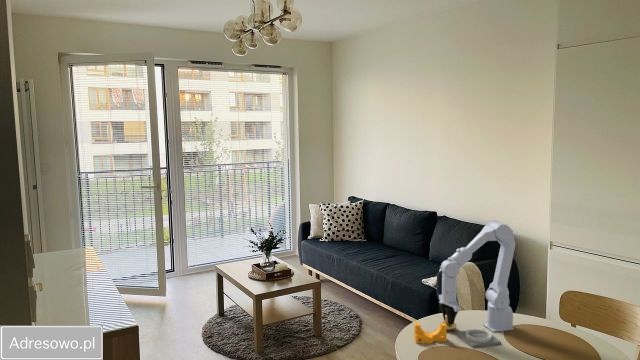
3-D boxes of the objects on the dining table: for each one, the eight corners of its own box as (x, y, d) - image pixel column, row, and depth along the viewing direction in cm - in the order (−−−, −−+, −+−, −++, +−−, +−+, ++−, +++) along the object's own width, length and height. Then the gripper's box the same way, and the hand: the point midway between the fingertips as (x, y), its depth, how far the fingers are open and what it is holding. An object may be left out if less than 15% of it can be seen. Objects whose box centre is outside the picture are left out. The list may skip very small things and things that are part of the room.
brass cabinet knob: (451, 323, 197) (452, 311, 197) (459, 329, 191) (459, 317, 191) (438, 324, 196) (438, 313, 196) (445, 330, 190) (445, 318, 190)
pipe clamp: (415, 343, 182) (416, 327, 181) (414, 338, 186) (414, 322, 186) (447, 343, 181) (447, 327, 181) (445, 338, 186) (445, 323, 185)
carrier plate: (483, 331, 192) (483, 326, 192) (501, 344, 180) (501, 338, 180) (456, 334, 189) (456, 329, 189) (472, 347, 178) (472, 342, 177)
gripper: (432, 285, 198) (431, 316, 200) (448, 297, 184) (448, 330, 186) (447, 283, 200) (447, 314, 201) (465, 295, 186) (464, 328, 187)
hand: (448, 322), depth 194 cm, fingers closed on brass cabinet knob, 3 cm apart
